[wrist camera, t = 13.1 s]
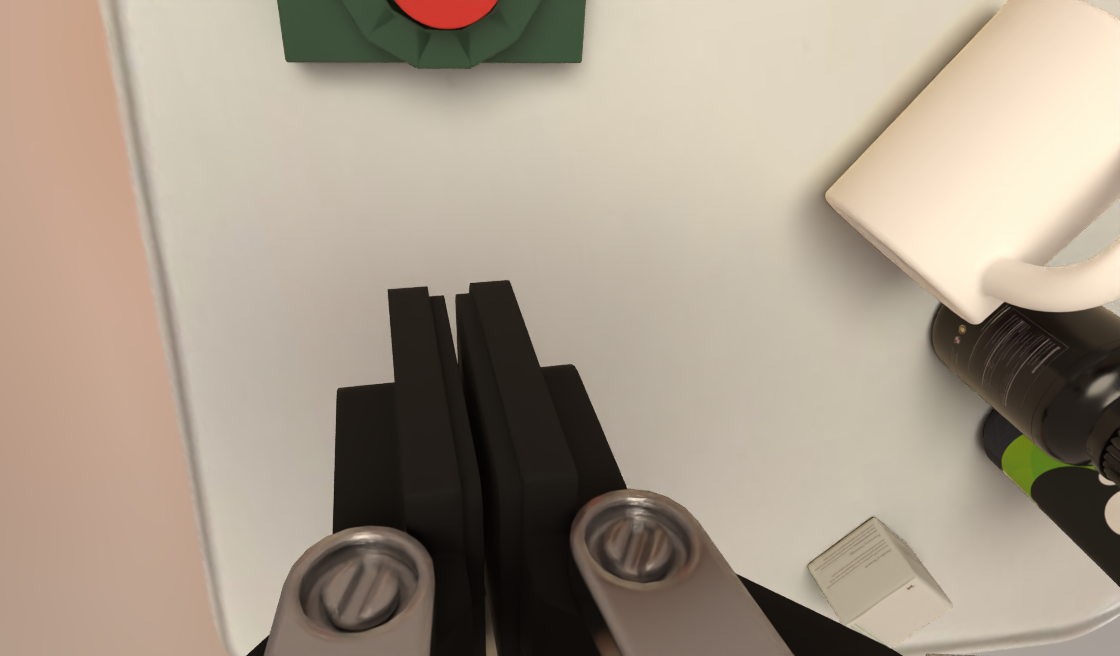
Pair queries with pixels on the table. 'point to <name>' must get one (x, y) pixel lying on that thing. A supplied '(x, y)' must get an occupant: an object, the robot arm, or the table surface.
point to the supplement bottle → (1044, 377)
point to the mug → (1002, 166)
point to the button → (446, 11)
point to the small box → (879, 585)
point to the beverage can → (1061, 492)
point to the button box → (431, 34)
